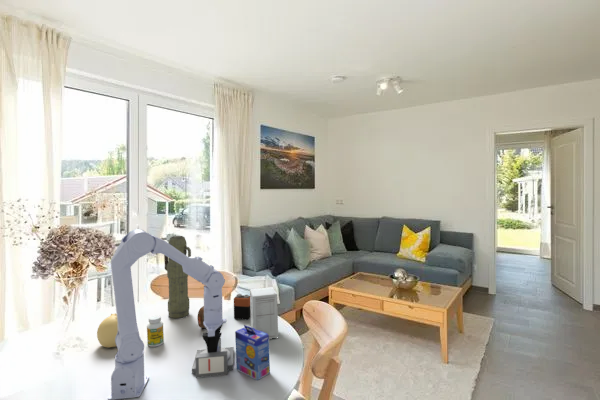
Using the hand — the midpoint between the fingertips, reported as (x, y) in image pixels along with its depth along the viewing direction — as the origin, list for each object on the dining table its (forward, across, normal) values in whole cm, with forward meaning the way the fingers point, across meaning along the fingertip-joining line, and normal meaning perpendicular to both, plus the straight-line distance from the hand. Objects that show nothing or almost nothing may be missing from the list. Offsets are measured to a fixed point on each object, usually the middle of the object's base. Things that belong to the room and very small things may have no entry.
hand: (213, 349), depth 107 cm
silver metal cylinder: (+2, 0, 0) cm, 2 cm away
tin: (+4, +32, +5) cm, 33 cm away
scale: (+4, -1, 0) cm, 4 cm away
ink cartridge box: (+4, -8, -12) cm, 15 cm away
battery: (+4, +36, -9) cm, 37 cm away
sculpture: (+4, +20, +36) cm, 41 cm away
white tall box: (+4, +17, -17) cm, 24 cm away
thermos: (+4, +44, +19) cm, 48 cm away
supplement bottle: (+4, +17, +22) cm, 28 cm away
